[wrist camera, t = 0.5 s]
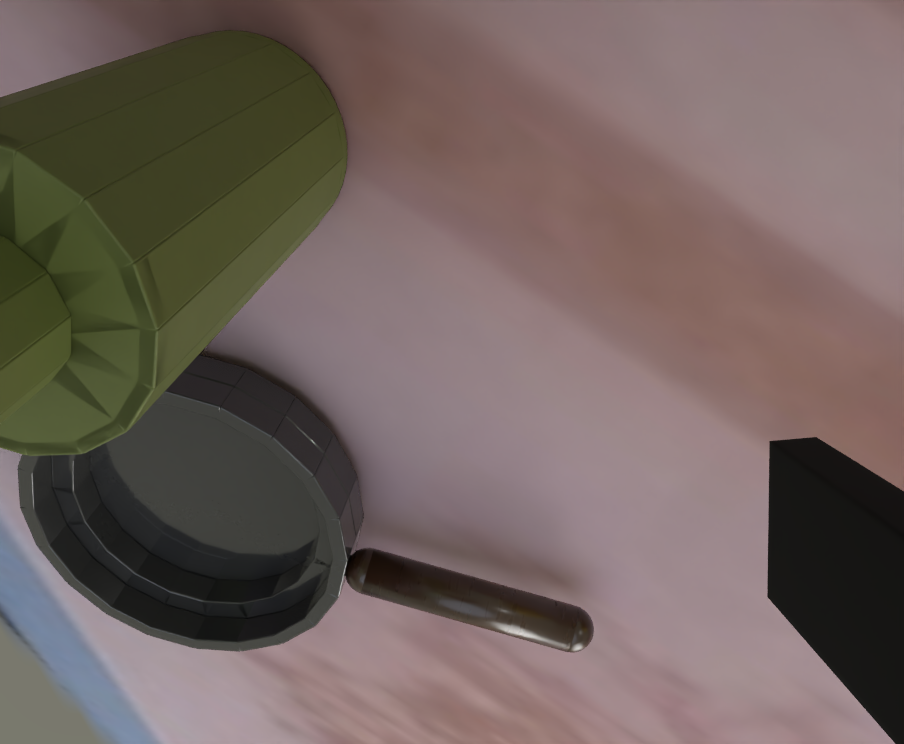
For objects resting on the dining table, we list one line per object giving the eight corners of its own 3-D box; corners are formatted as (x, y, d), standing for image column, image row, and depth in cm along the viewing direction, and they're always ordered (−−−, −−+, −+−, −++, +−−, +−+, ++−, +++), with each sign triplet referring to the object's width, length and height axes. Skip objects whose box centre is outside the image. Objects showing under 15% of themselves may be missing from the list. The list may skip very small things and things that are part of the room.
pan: (59, 306, 32) (9, 346, 29) (392, 400, 32) (373, 450, 29) (65, 550, 39) (25, 600, 36) (338, 627, 39) (318, 684, 36)
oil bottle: (153, 3, 26) (-466, 141, 11) (365, 64, 25) (21, 288, 11) (143, 208, 29) (-335, 520, 14) (329, 264, 29) (35, 636, 14)
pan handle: (355, 533, 33) (343, 565, 32) (599, 602, 33) (600, 637, 32) (347, 564, 34) (336, 596, 33) (585, 631, 34) (585, 667, 33)
